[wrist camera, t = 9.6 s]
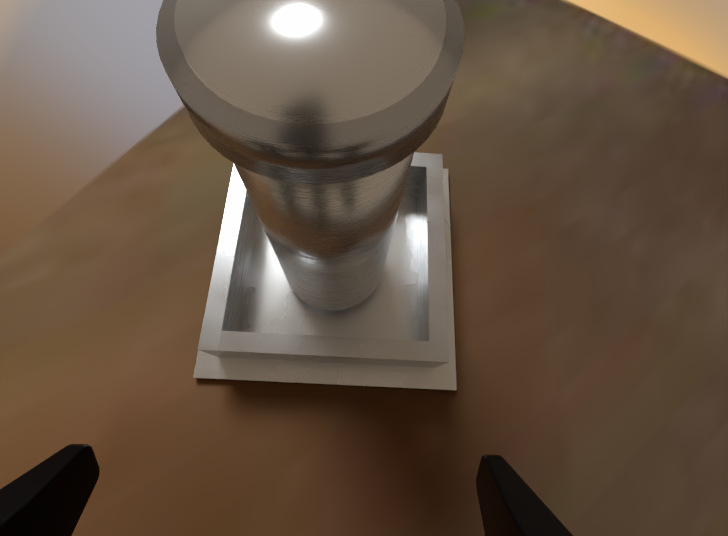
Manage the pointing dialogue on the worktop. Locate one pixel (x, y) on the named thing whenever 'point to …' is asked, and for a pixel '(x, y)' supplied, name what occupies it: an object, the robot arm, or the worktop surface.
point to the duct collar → (343, 327)
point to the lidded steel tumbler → (317, 118)
